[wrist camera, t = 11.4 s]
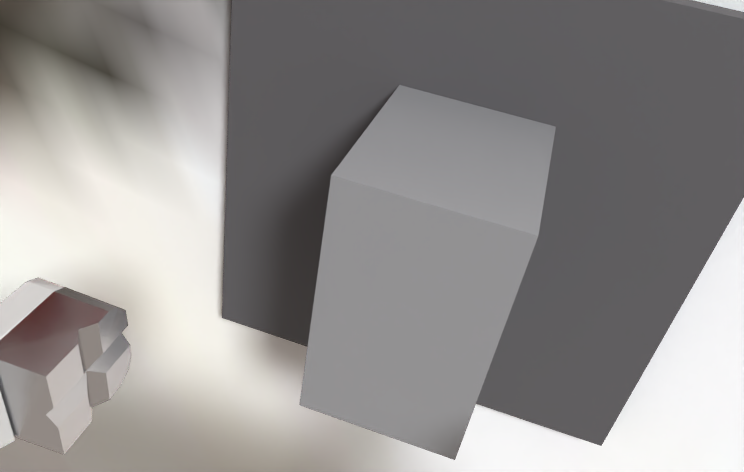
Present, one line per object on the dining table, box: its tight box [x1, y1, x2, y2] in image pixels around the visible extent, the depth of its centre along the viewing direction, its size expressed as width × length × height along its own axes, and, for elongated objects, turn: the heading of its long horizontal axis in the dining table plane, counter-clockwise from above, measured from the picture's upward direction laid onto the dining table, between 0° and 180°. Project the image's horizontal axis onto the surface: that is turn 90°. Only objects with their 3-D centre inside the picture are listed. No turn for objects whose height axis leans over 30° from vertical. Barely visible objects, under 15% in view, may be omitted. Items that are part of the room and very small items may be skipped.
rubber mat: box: [222, 0, 744, 446], centre depth 17 cm, size 12×12×1 cm
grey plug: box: [300, 85, 556, 460], centre depth 15 cm, size 8×4×5 cm, turn 170°
